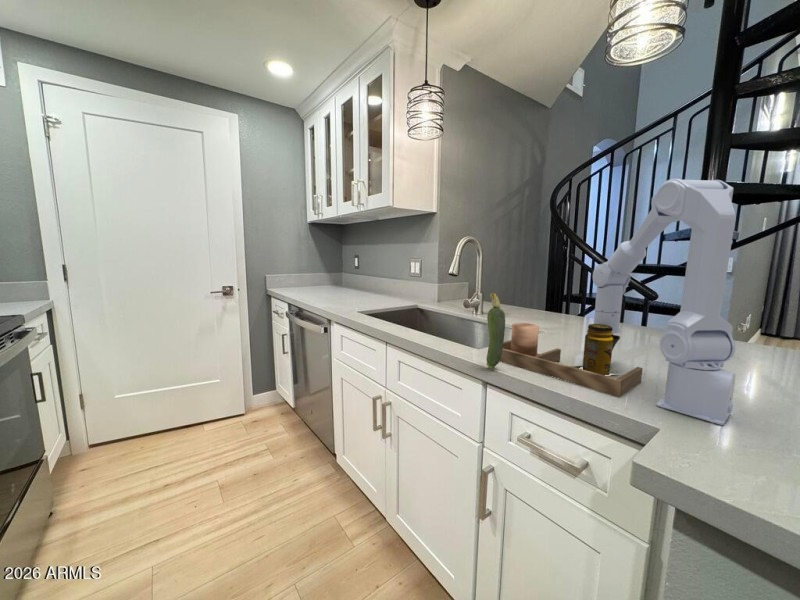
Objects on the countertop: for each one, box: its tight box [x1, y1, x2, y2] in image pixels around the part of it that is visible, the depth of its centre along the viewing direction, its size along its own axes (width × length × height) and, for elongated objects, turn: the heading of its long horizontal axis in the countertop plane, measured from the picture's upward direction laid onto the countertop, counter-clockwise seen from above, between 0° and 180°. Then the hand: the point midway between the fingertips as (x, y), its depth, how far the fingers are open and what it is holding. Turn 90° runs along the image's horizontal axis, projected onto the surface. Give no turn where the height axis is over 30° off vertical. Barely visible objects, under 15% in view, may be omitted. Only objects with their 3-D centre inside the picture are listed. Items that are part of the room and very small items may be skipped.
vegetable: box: [486, 292, 506, 370], centre depth 83 cm, size 4×4×20 cm
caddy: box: [499, 322, 643, 398], centre depth 84 cm, size 33×14×10 cm, turn 38°
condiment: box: [570, 323, 618, 375], centre depth 82 cm, size 7×8×12 cm
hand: (602, 361), depth 87 cm, fingers closed
